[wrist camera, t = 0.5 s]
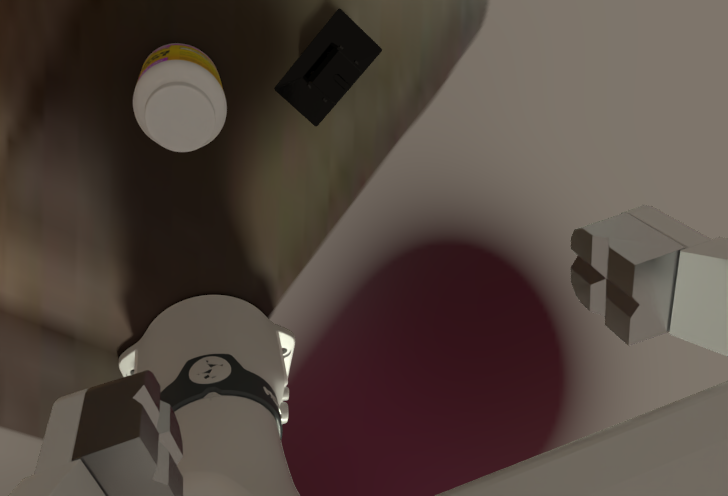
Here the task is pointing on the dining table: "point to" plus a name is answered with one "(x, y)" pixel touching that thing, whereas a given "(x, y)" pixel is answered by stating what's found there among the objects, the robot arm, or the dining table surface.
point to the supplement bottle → (179, 98)
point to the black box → (328, 68)
